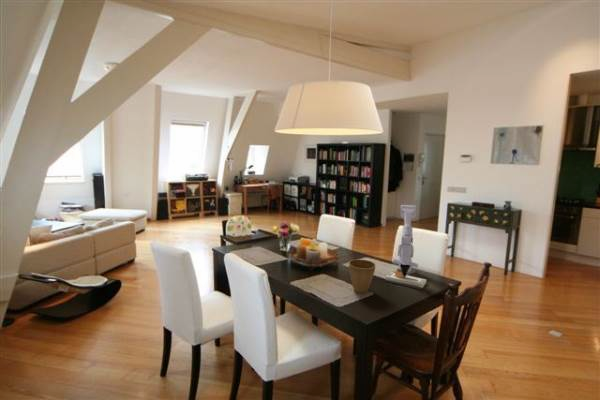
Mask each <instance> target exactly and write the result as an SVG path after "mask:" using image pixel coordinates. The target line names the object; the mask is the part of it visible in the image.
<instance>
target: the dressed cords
mask: <svg viewBox="0 0 600 400" xmlns="http://www.w3.org/2000/svg"><path fill="white" fill-rule="evenodd" d="M393 272H394V273H395V271H393ZM406 275H407V276H412V277H416V278H421V279H425V280H426V282H427V280H428V279H427V278H423V277H421V276H417V275H416V276H415V275H411V274H408V273H407V274H406ZM384 281H385V282H387V283H391V284H396V285H400V286H405V287H408V288H412V289H417V290H421V289H422V288H421V287H418V286H414V285H410V284H405V283H401V282H397V281H393V280H388V279H386V278H385V279H384Z"/></svg>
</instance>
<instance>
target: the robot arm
mask: <svg viewBox="0 0 600 400" xmlns="http://www.w3.org/2000/svg"><path fill="white" fill-rule="evenodd" d="M417 209H418V208H417V205H412V204H411V205H410V204H407V205H406V204H401V205H400V212H399V213H400V217H401V218H403V226H402V235H401V243H399V244H398V248H397V256H398V257H399V259H395V258H394V259H393V262H392V263H393V264H397V265H398V268H399V269H402V272H403V277H406V274H407V275H408V274H410V272H411V271H412V270H413V267H415V268H419V263H417V262H413V258H414V251H415V250H414V249H415V248H414V244H413V242H414V237H413V226H412V225H411V224H412V219H414V218H416V215H417Z"/></svg>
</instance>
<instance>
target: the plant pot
mask: <svg viewBox="0 0 600 400" xmlns="http://www.w3.org/2000/svg"><path fill="white" fill-rule="evenodd" d="M348 269H349V276H350V282H351V285H352V288H353V291H354V292H356V293H359V294H366V293H367V292H368V290H369V288H370V285H372V280H373V277H374V274H375V270H376V263H375V262H373V261H370V260H367V259H351V260H349V262H348Z"/></svg>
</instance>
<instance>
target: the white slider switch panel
mask: <svg viewBox="0 0 600 400" xmlns="http://www.w3.org/2000/svg"><path fill="white" fill-rule="evenodd" d="M394 272H395V271H390V272H389V273H388V274H386V275H385V279H388V280H393V281H397V282H401V283H405V284H410V285H414V286H418V287H421V289H423V288H424V286H425V285H426V284H427V281H426V280H425V279H426V278H425V279H421V278H422V277H421V278H416V277H417V276H416V277H412V276H413V275H411V276H407V275H408V274H407V275H406V277H403V276H402V277H398V276H395V273H394Z"/></svg>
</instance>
